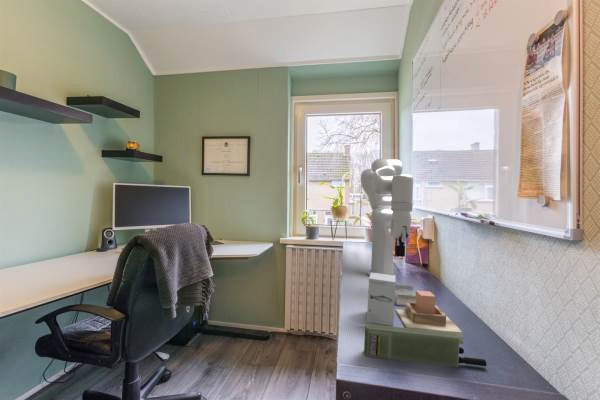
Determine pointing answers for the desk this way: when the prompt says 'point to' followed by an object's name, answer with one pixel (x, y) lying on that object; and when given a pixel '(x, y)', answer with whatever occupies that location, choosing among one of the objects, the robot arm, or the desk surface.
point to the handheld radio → (416, 346)
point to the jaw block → (425, 302)
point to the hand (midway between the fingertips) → (399, 256)
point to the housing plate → (404, 294)
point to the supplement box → (381, 299)
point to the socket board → (426, 319)
